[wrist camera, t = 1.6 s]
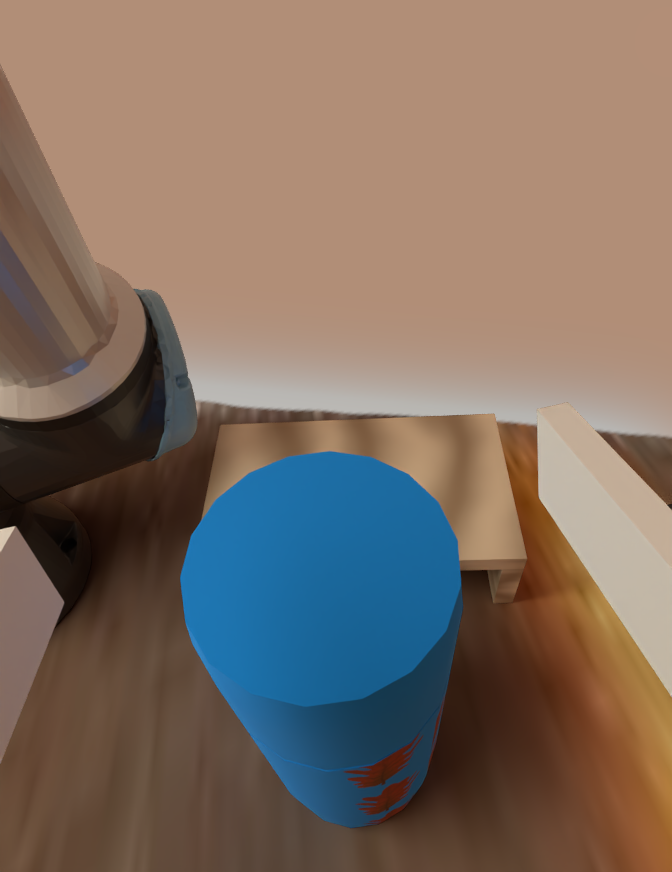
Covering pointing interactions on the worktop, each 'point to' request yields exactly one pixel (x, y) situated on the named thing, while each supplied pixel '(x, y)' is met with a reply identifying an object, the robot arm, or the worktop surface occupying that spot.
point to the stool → (415, 455)
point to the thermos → (330, 625)
